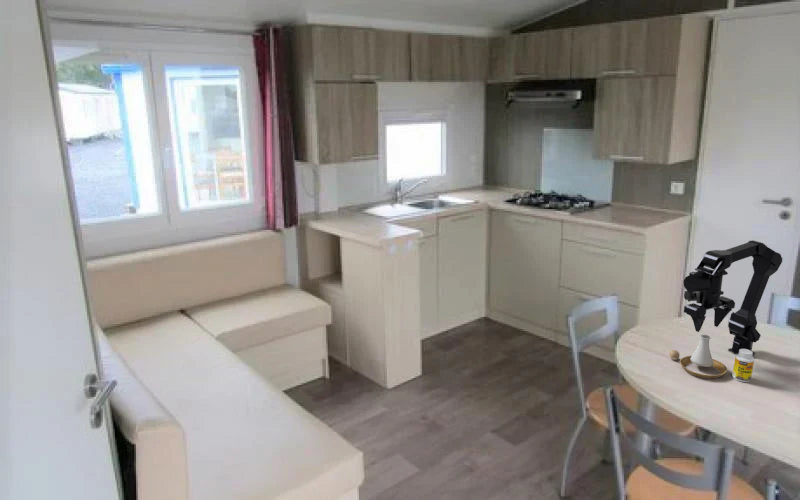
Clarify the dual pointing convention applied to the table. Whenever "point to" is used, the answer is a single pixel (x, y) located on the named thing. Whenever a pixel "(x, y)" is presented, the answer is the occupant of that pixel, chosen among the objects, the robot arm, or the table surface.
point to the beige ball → (674, 355)
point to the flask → (702, 353)
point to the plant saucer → (717, 365)
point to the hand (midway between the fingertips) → (706, 328)
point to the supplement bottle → (743, 365)
